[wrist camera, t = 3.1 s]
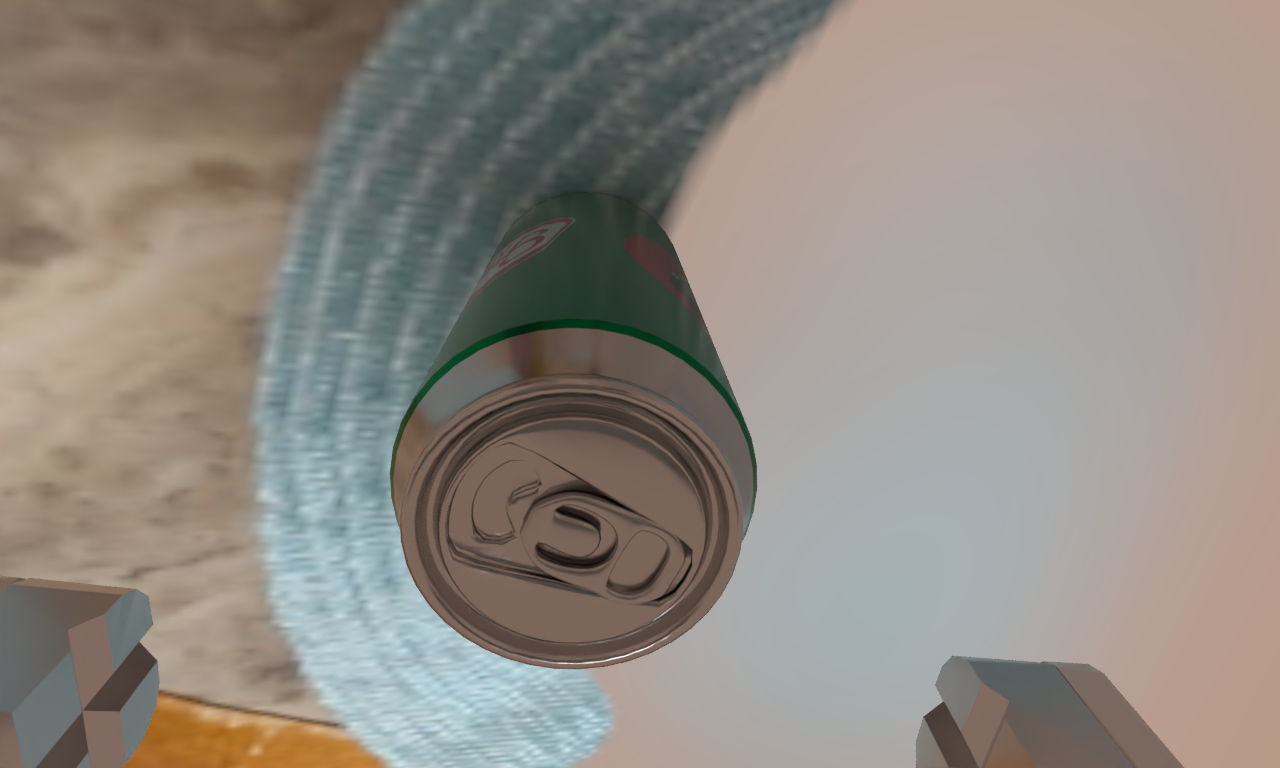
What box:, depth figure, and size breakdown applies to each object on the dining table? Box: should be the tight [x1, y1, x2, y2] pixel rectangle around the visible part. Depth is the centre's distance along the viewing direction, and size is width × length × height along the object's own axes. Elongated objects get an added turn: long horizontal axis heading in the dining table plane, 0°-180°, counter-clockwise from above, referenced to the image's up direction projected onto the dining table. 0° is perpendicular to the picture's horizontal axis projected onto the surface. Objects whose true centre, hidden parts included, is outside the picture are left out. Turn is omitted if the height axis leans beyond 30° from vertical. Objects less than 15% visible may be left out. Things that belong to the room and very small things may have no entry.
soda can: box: [390, 192, 757, 669], centre depth 15 cm, size 5×5×12 cm
